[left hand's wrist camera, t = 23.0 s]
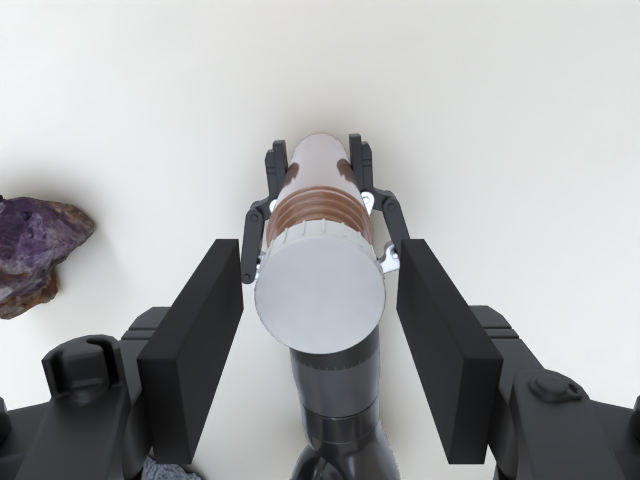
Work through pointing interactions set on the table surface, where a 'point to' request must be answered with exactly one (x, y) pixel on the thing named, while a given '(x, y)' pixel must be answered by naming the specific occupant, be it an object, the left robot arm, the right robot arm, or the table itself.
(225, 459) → the table surface
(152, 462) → the koala plush
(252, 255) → the right robot arm
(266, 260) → the cap
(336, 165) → the bottle
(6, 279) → the rock
